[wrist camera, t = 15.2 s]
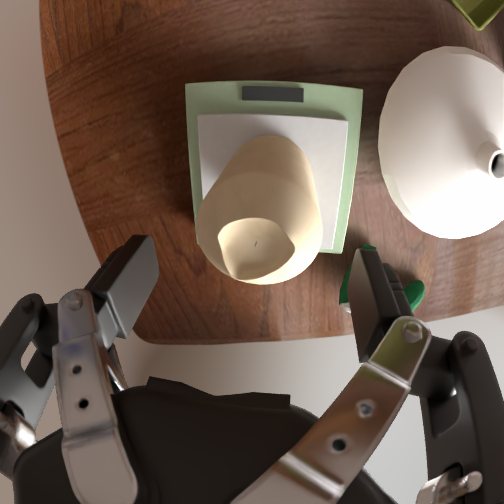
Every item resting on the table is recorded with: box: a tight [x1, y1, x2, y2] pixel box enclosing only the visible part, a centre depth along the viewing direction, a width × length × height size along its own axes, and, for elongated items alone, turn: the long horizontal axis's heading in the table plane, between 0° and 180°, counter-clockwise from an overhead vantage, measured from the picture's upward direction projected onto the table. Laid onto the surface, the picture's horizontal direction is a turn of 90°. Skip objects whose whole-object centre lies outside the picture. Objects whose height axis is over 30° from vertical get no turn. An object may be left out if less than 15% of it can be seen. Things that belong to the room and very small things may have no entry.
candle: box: [196, 135, 323, 284], centre depth 16 cm, size 6×6×10 cm
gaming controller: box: [339, 244, 425, 312], centre depth 26 cm, size 9×4×6 cm
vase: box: [378, 46, 504, 239], centre depth 16 cm, size 16×16×7 cm
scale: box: [185, 81, 363, 253], centre depth 21 cm, size 12×13×3 cm
